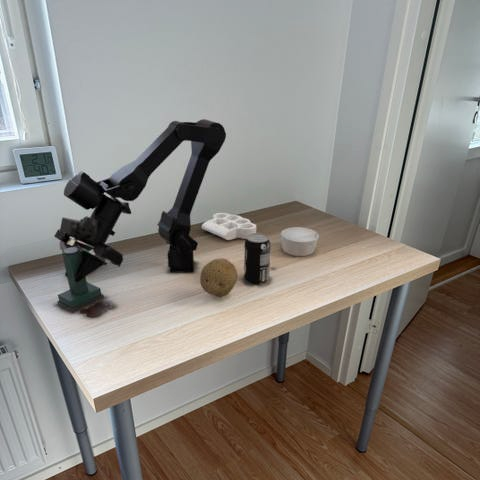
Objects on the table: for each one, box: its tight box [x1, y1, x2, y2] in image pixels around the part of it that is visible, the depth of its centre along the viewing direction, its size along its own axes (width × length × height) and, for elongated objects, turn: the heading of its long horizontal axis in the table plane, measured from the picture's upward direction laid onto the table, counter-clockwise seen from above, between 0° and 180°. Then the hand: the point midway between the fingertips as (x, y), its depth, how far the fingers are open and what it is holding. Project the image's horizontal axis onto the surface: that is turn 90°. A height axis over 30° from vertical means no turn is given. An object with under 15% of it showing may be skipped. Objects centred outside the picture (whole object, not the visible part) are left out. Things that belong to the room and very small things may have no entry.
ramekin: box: [280, 226, 320, 257], centre depth 138 cm, size 11×11×5 cm
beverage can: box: [243, 232, 272, 286], centre depth 120 cm, size 7×7×12 cm
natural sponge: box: [199, 257, 238, 298], centre depth 112 cm, size 9×9×10 cm
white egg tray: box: [201, 212, 257, 241], centre depth 151 cm, size 3×18×15 cm
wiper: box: [56, 247, 105, 314], centre depth 109 cm, size 9×6×13 cm, turn 142°
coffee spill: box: [79, 300, 115, 319], centre depth 110 cm, size 7×6×1 cm
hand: (71, 279), depth 108 cm, fingers closed on wiper, 3 cm apart
